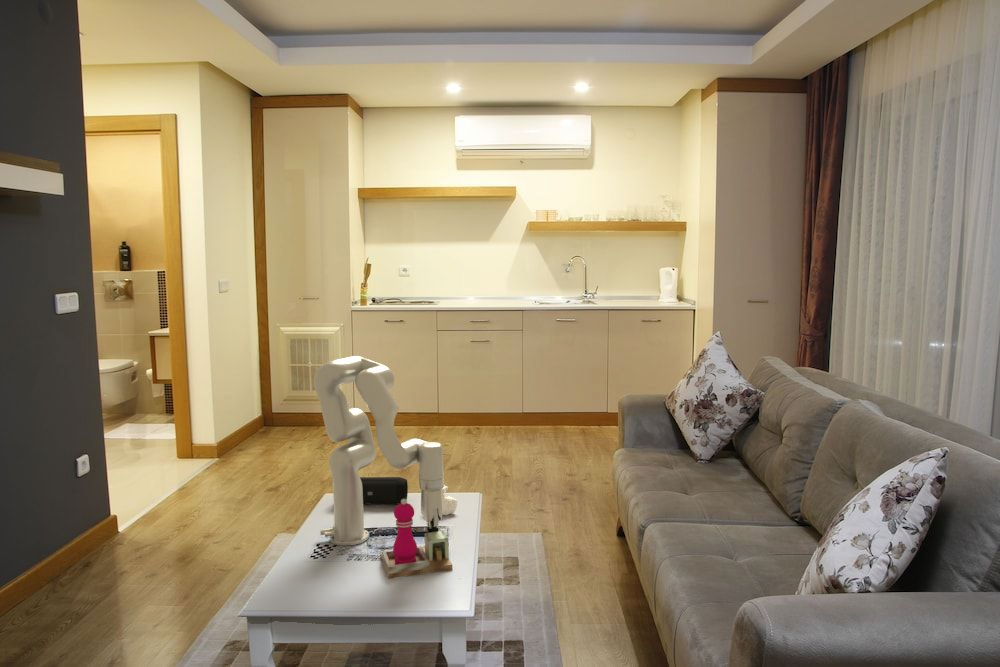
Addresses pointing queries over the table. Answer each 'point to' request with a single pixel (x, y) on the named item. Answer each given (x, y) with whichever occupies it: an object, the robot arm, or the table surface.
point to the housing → (436, 543)
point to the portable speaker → (384, 490)
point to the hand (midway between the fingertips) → (433, 539)
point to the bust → (448, 503)
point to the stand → (415, 563)
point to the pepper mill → (404, 534)
